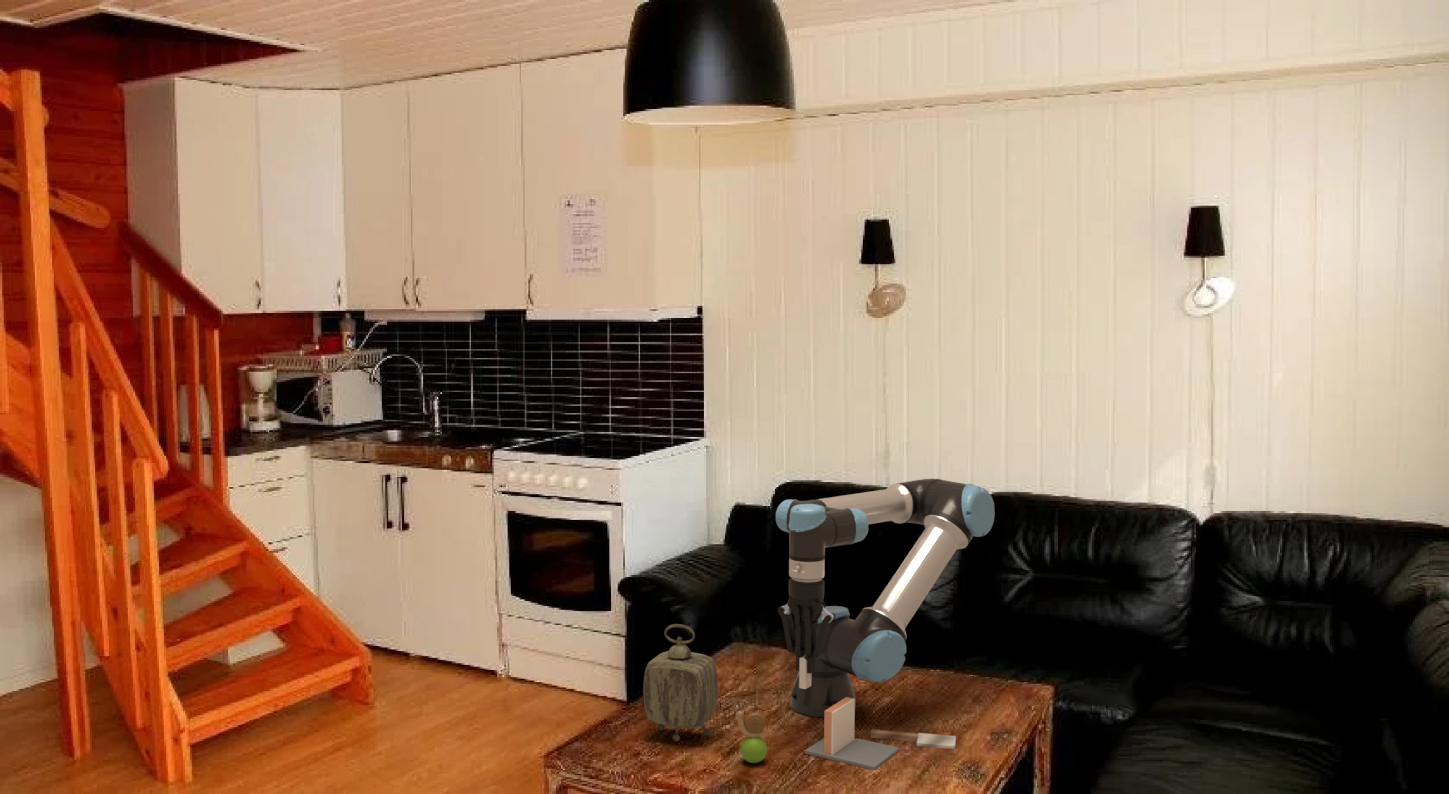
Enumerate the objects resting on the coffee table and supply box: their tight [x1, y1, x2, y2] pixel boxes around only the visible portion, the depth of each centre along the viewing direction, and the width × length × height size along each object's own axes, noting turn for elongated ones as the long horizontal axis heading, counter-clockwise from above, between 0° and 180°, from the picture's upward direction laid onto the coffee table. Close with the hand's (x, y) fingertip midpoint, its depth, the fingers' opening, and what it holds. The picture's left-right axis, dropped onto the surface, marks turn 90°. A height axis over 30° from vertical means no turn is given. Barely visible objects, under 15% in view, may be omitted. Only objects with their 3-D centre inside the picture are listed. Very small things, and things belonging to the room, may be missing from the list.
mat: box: [804, 737, 900, 771], centre depth 252 cm, size 16×12×1 cm
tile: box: [823, 697, 856, 755], centre depth 253 cm, size 2×10×9 cm, turn 148°
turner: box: [869, 729, 957, 750], centre depth 259 cm, size 18×6×1 cm, turn 77°
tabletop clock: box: [642, 623, 719, 743], centre depth 259 cm, size 14×9×25 cm, turn 71°
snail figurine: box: [735, 704, 768, 764], centre depth 246 cm, size 5×6×12 cm
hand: (805, 686), depth 257 cm, fingers closed
